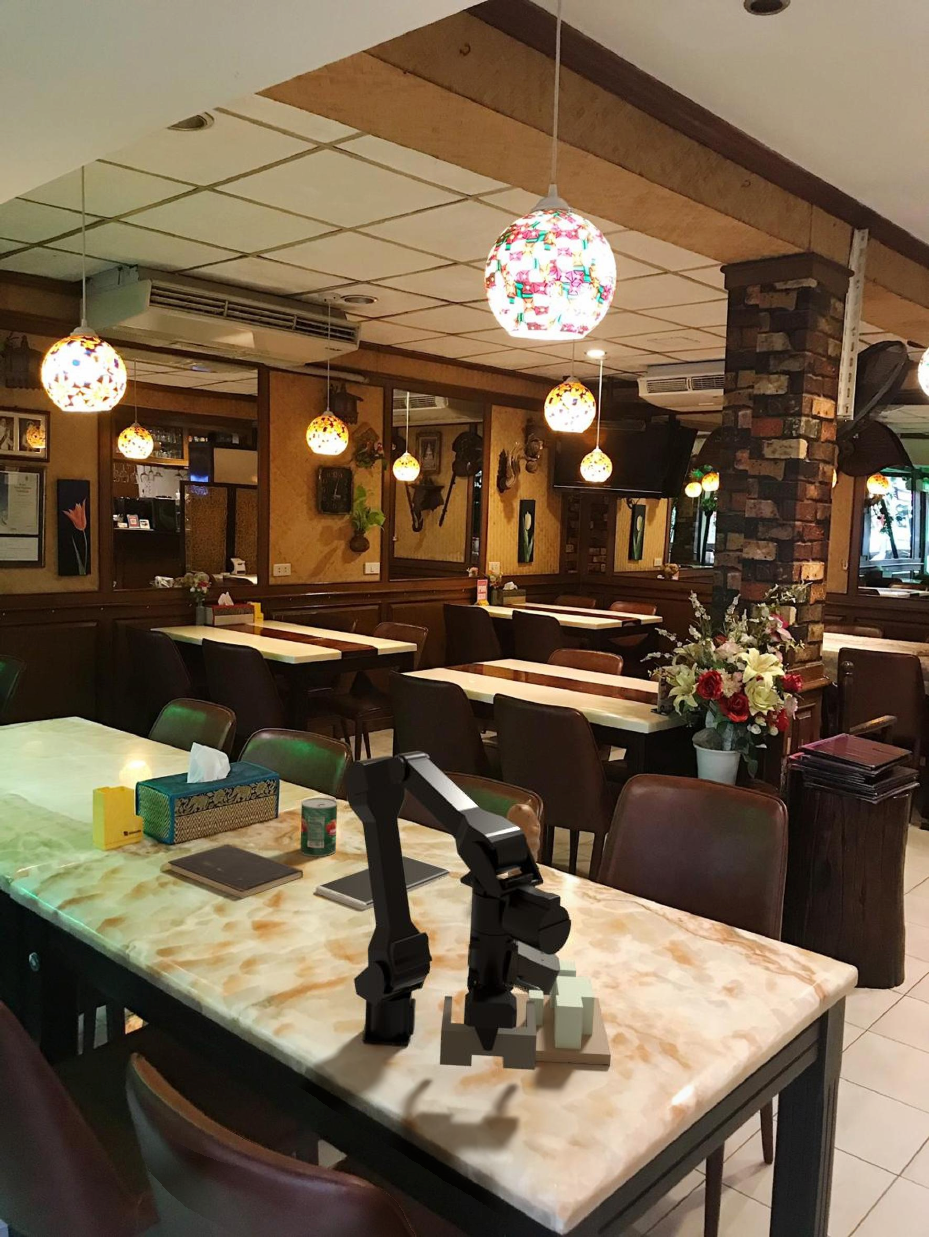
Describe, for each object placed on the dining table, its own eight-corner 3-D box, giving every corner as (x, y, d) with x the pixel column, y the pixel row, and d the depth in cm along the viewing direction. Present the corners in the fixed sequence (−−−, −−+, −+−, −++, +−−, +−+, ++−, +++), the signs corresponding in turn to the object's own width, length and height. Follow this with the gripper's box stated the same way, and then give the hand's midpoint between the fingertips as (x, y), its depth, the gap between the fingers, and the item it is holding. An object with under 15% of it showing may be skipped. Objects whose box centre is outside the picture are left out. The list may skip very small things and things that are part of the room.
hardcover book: (241, 901, 183) (241, 890, 182) (168, 872, 196) (168, 861, 196) (303, 879, 195) (303, 869, 195) (230, 853, 209) (230, 843, 209)
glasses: (534, 1069, 120) (536, 1035, 120) (439, 1064, 120) (441, 1030, 120) (532, 1032, 129) (533, 1000, 129) (443, 1027, 129) (444, 995, 129)
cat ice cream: (522, 898, 188) (526, 809, 187) (490, 888, 193) (494, 801, 191) (546, 886, 195) (550, 800, 194) (514, 877, 200) (518, 793, 198)
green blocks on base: (507, 1059, 131) (510, 1006, 130) (506, 1002, 146) (508, 955, 146) (610, 1065, 130) (613, 1012, 129) (597, 1007, 146) (600, 960, 145)
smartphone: (452, 877, 201) (452, 869, 200) (363, 913, 179) (363, 904, 179) (404, 862, 209) (404, 854, 209) (313, 894, 187) (314, 886, 187)
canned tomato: (295, 847, 213) (297, 799, 212) (329, 843, 217) (331, 796, 216) (305, 858, 206) (306, 808, 205) (340, 854, 209) (342, 805, 208)
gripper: (562, 962, 110) (556, 1091, 111) (553, 901, 129) (547, 1012, 130) (466, 957, 110) (461, 1086, 112) (470, 896, 129) (466, 1007, 130)
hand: (488, 1045), depth 121 cm, fingers closed on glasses, 2 cm apart
